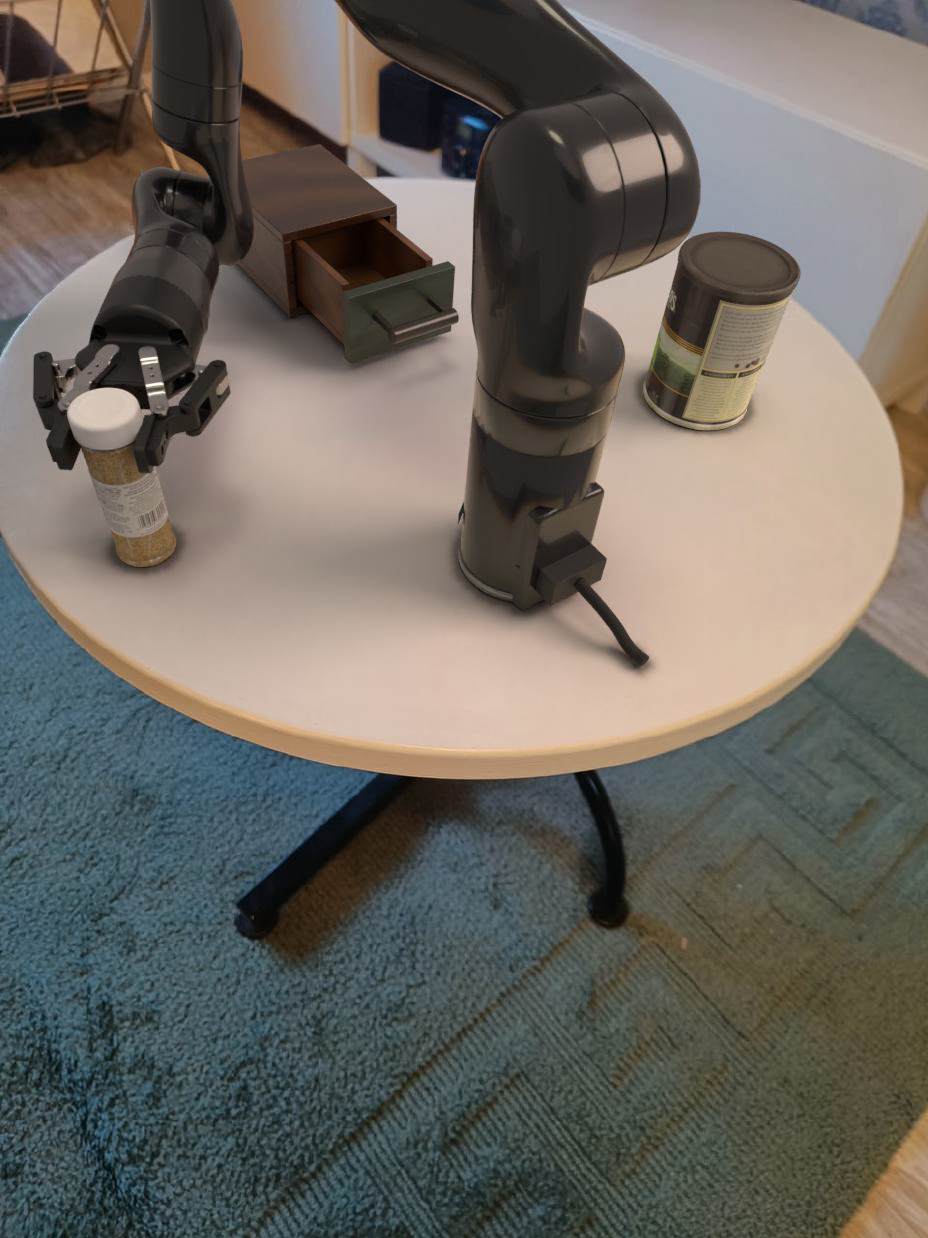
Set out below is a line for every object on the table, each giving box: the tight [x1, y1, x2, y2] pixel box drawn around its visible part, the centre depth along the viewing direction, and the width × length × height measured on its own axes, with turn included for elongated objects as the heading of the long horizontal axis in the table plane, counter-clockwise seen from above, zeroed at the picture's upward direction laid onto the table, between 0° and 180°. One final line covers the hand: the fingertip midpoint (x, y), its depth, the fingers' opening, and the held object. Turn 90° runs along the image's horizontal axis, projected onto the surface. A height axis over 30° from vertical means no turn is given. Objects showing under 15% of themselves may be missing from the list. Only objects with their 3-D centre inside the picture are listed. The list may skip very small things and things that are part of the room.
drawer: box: [291, 218, 460, 365], centre depth 85 cm, size 19×12×7 cm, turn 35°
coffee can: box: [642, 231, 802, 431], centre depth 79 cm, size 10×10×14 cm
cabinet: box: [236, 143, 398, 319], centre depth 91 cm, size 16×13×9 cm
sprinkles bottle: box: [67, 388, 177, 568], centre depth 62 cm, size 5×5×14 cm
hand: (102, 461), depth 57 cm, fingers closed on sprinkles bottle, 4 cm apart
